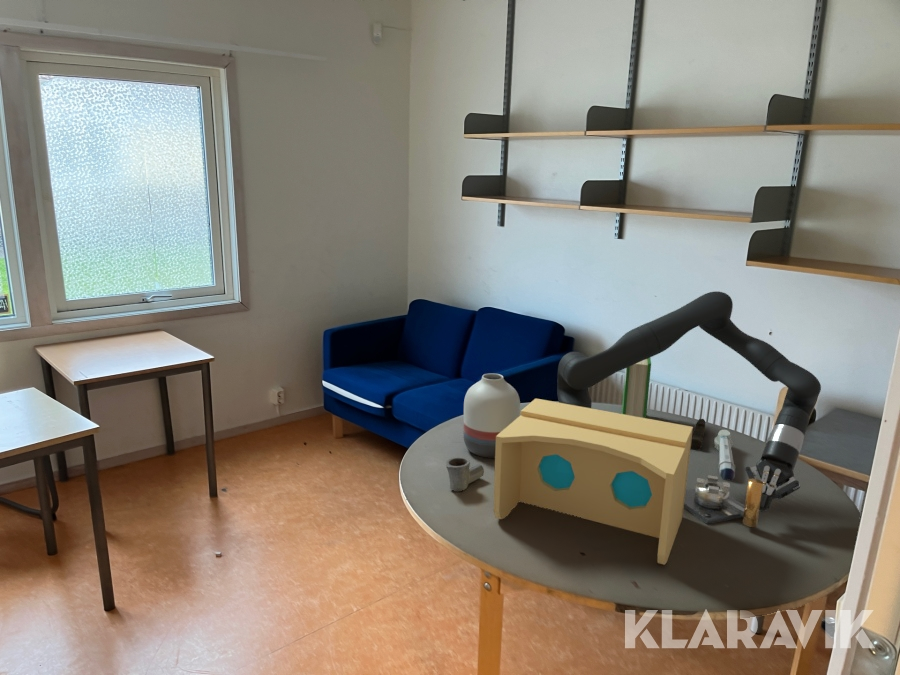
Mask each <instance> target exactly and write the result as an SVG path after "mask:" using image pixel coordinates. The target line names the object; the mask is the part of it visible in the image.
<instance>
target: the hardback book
mask: <svg viewBox="0 0 900 675" xmlns="http://www.w3.org/2000/svg"><path fill="white" fill-rule="evenodd" d="M651 360H652V359H651V357H650V358H648V359H646V360H643V361H641V362H638V363H636V364H634V365H632V366H630V367H627V368H625V369H624V370H625V371H624V381H623V393H622V406H621V414H624V415H630V416H635V417H641V418H646V419H647V413H648V412H647V411H648V402H649V401H648V400H649V392H650V391H649V390H650V389H649V388H650V380H651V379H650V378H651V371H652V370H651V369H652V361H651Z"/></svg>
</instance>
